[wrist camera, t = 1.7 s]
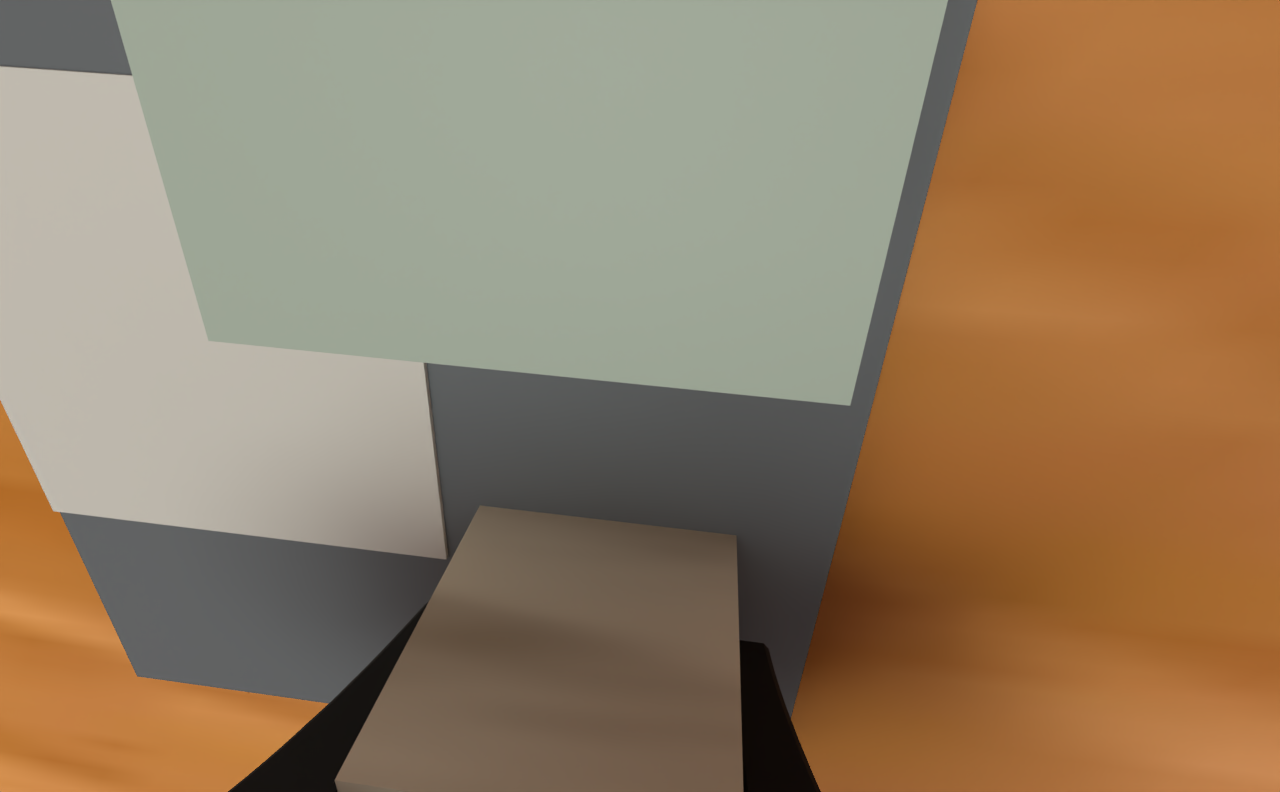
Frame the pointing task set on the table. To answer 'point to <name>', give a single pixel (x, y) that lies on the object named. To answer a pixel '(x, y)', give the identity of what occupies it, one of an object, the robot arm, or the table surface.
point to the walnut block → (565, 665)
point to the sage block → (541, 178)
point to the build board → (347, 416)
